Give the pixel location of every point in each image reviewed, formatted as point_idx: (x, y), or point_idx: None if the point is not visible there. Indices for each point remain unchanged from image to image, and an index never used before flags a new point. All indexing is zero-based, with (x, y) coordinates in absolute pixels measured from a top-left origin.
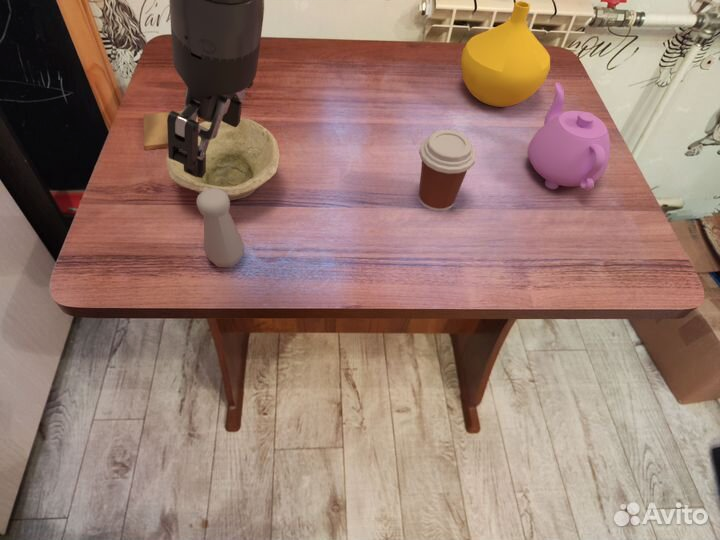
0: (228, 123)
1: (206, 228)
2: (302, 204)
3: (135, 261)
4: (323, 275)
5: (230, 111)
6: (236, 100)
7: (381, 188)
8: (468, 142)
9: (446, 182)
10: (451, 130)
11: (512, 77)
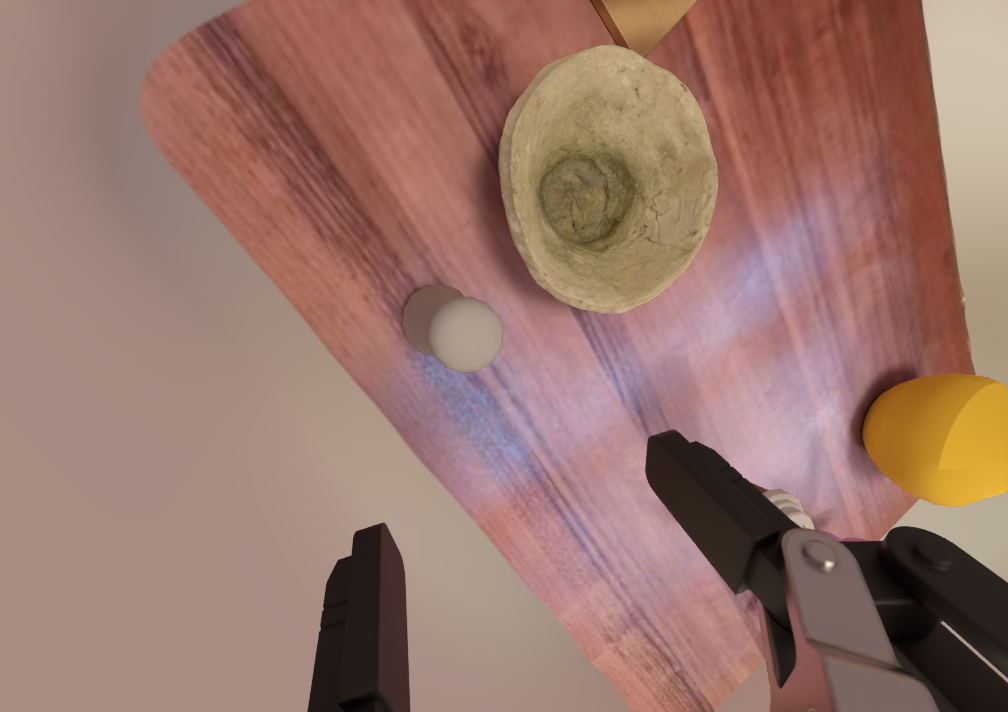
0: (649, 460)
1: (425, 319)
2: (594, 340)
3: (320, 174)
4: (494, 460)
5: (697, 517)
6: (760, 600)
7: (674, 414)
8: None
9: None
10: (813, 529)
11: (930, 482)
